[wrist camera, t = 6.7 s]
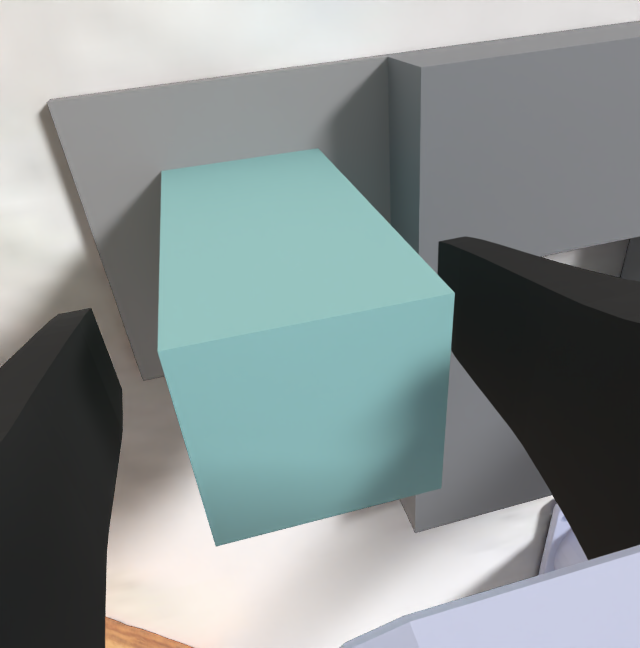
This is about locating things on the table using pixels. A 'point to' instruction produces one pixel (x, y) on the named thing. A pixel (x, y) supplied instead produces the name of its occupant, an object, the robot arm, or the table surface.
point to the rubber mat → (210, 156)
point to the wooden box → (135, 637)
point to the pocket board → (511, 199)
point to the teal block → (298, 344)
